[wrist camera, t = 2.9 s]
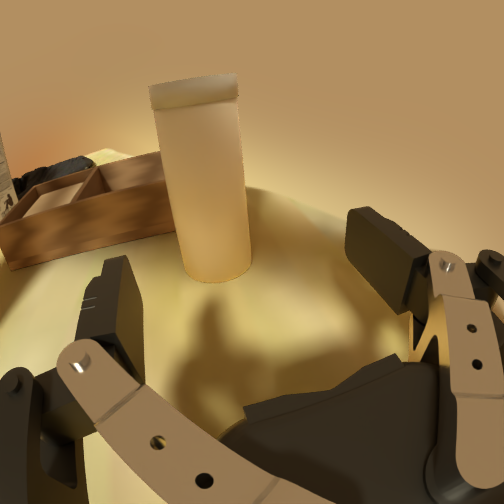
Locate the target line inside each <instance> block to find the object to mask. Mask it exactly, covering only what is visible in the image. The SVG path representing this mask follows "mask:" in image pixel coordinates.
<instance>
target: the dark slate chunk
mask: <svg viewBox="0 0 504 504" xmlns="http://www.w3.org/2000/svg"><path fill="white" fill-rule="evenodd" d="M92 163H93V161H92V160H91V159H89V158H87V157H84V156H78V157H76V158H72V159H69V160H66V161H63V162H60V163H57V164H55V165H51V166H49V167H40V168H37V169H35V170H34V171H31V172H28V173H25V174H24V175H23V176H22V178H14V179H12V182H13V185H14V188H15V192H16V195H17V198H18V201H19V200H20V199H21V198H22V197H23V196H24V195H25V194H26V193H27V192H28V191H29V190H30V189H31V188H32V187H33V186H36V185H39V184H42V183H44V182H47V181H50V180H53V179H57V178H60V177H63V176H66V175H69V174H72V173H76V172H79V171H83V170H86V169H88V168H89V167H90V165H91V164H92Z"/></svg>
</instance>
